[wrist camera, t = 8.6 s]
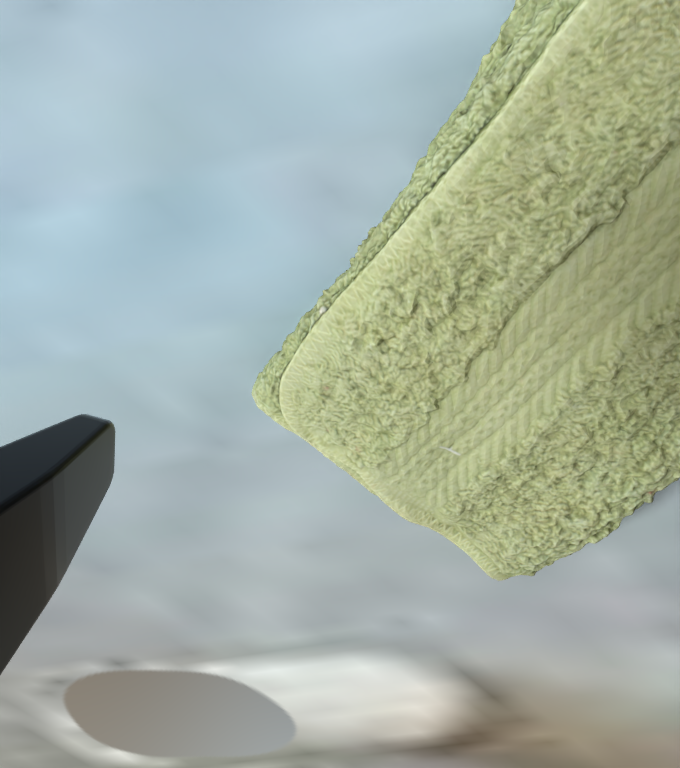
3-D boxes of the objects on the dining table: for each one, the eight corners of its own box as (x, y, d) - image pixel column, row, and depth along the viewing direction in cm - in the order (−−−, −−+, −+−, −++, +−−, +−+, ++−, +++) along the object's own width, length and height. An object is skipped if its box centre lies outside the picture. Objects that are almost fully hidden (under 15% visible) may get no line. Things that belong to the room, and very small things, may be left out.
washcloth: (243, 383, 22) (216, 434, 19) (619, -159, 14) (665, -204, 11) (521, 556, 25) (532, 624, 22) (991, 192, 16) (1106, 227, 13)
